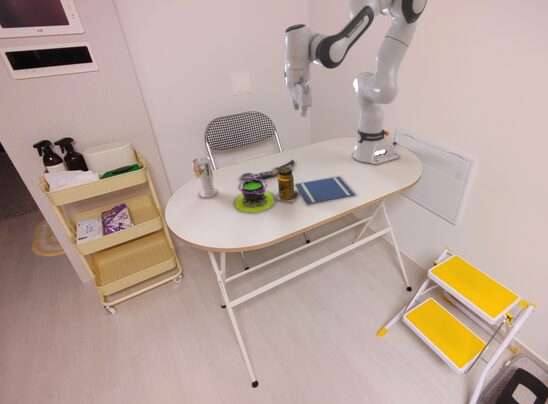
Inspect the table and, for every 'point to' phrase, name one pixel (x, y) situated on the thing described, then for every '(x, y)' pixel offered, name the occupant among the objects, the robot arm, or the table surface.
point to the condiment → (286, 185)
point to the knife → (267, 173)
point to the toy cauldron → (254, 196)
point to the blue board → (324, 190)
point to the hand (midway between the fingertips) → (300, 112)
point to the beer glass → (204, 176)
